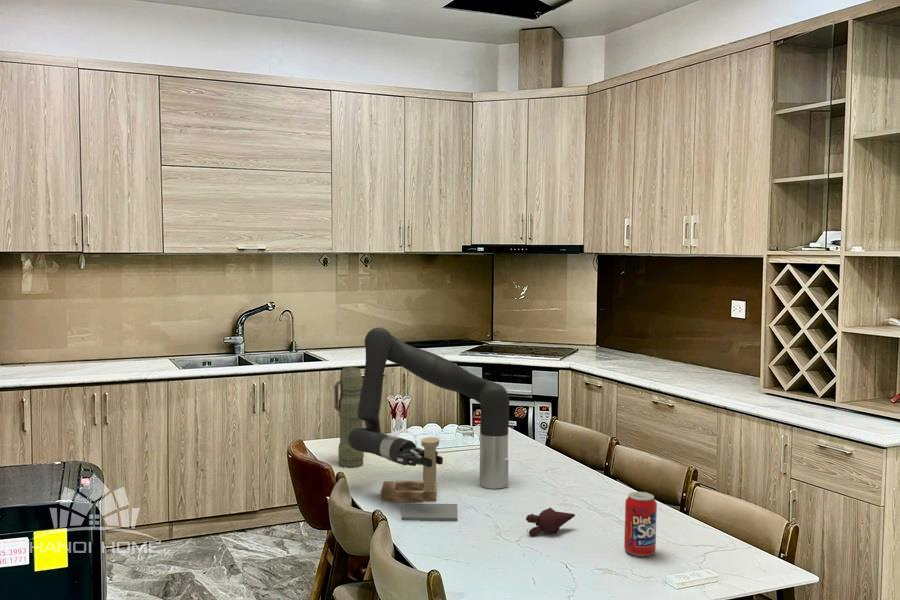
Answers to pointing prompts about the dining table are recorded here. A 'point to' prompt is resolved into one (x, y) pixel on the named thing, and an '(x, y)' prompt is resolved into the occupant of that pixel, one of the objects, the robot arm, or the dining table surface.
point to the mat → (429, 512)
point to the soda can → (640, 524)
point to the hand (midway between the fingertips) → (436, 462)
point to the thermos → (348, 415)
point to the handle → (430, 453)
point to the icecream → (548, 521)
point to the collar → (406, 491)
